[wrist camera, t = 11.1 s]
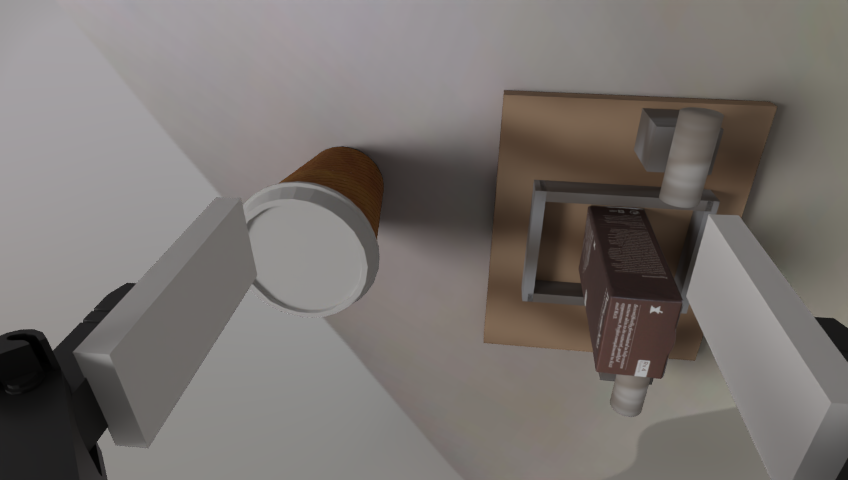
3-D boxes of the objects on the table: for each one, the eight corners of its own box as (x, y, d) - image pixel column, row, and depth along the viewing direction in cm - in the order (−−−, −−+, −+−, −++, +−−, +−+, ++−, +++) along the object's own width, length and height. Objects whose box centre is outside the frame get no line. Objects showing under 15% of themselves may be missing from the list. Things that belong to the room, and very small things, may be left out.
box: (583, 204, 42) (610, 295, 32) (645, 207, 42) (693, 301, 32) (572, 271, 45) (594, 375, 35) (630, 275, 45) (670, 381, 35)
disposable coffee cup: (426, 167, 44) (403, 244, 33) (369, 254, 48) (333, 346, 38) (317, 102, 42) (257, 161, 32) (269, 198, 47) (203, 277, 36)
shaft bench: (505, 78, 40) (506, 110, 33) (773, 89, 38) (831, 124, 32) (483, 341, 51) (481, 402, 45) (688, 358, 50) (717, 425, 43)
